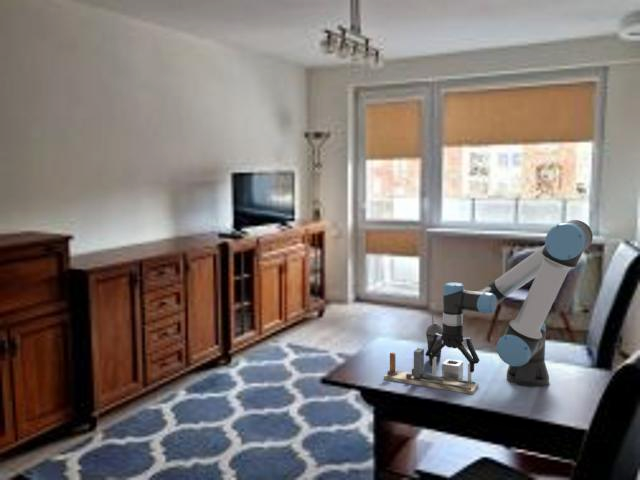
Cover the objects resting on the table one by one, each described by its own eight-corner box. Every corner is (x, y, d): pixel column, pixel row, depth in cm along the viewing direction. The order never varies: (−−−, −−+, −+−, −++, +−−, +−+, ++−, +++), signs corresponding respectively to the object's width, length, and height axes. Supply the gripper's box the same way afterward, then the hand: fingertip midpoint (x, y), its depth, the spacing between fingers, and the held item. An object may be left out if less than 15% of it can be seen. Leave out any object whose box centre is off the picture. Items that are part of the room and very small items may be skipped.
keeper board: (478, 386, 212) (478, 362, 211) (472, 394, 205) (473, 369, 204) (391, 372, 228) (391, 349, 227) (383, 379, 221) (383, 355, 220)
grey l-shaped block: (444, 379, 216) (445, 351, 215) (441, 383, 212) (441, 355, 211) (417, 374, 221) (417, 348, 220) (413, 378, 217) (413, 351, 216)
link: (462, 376, 223) (463, 361, 222) (458, 381, 217) (458, 366, 217) (446, 373, 226) (446, 358, 225) (441, 378, 220) (442, 363, 220)
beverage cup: (443, 364, 237) (444, 316, 235) (425, 363, 239) (425, 315, 236) (443, 358, 244) (443, 312, 242) (425, 357, 246) (426, 311, 243)
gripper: (488, 325, 217) (486, 379, 219) (424, 317, 228) (423, 368, 231) (483, 330, 210) (482, 385, 213) (417, 321, 222) (417, 374, 224)
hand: (451, 377), depth 222 cm, fingers open, 13 cm apart
